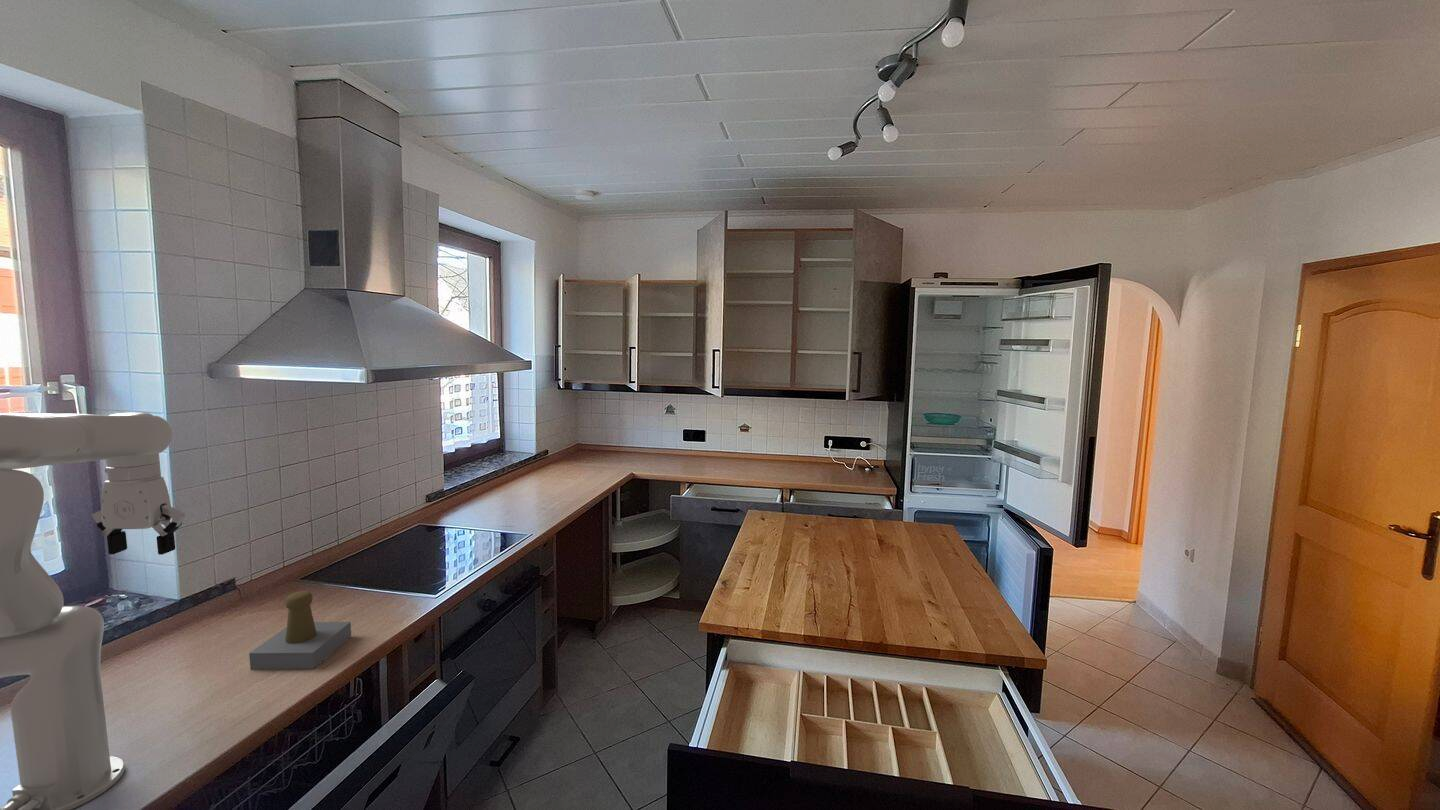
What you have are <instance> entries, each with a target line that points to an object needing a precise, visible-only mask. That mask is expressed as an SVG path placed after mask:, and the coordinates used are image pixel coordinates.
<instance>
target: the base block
mask: <svg viewBox="0 0 1440 810" xmlns="http://www.w3.org/2000/svg"><path fill="white" fill-rule="evenodd" d="M314 624H315V628H316V633H317V634H316V636H315V637H313V638H312V639H310V640H308V641H305V642H301V643H296V644H289V643H286V641H285V639H286V630H287V626H286V627H284V628H283V629H281V630H280V631H279V632H277V633H276V634H274V635H273V636H271V637H270V638H268V639H267V640H266V641H264V642H262V644H260V645H259V646H257V647H256V648H255V649H253V650H252V651H250V652H249V653H248V654H249V655H248V656H249V657H248V658H249V665H250V668H249V669H250V671H251V670H252V671H253V670H254V671H256V670H257V671H258V670H260V671H261V670H263V671H264V670H314V668H315V667H316V666H317V665H318V664H319V663H320V662H322V661H323V660H324V659H325V658H326V657H327V658H328V657H330V656H331V655H332V654H333V653H334V652H335V651H337V650H338V649H339V648H340V647H341V646H342V645H344V644H345V643H346V642H347V641H348V640H349V639H350V638H351V637H352V626H351V625H352V622H351V621H314ZM350 636H351V637H350ZM349 637H350V638H349ZM348 638H349V639H348ZM347 639H348V640H347ZM346 640H347V641H346ZM345 641H346V642H345ZM344 642H345V643H344ZM339 646H340V647H339ZM338 647H339V648H338ZM337 648H338V649H337ZM333 651H334V652H333ZM332 652H333V653H332ZM331 653H332V654H331ZM330 654H331V655H330ZM329 655H330V656H329ZM327 658H326V659H327ZM326 659H325V660H326ZM325 660H324V661H325ZM324 661H323V662H324ZM323 662H322V663H323ZM320 664H321V663H320ZM320 664H319V665H320ZM319 665H318V666H319ZM318 666H317V667H318ZM317 667H316V668H317ZM316 668H315V669H316Z"/></svg>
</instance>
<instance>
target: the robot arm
mask: <svg viewBox="0 0 1440 810" xmlns="http://www.w3.org/2000/svg"><path fill="white" fill-rule="evenodd" d="M171 427H172V426H171V425H170V423H169V422H168V421H167V420H166V419H164V418H163V417H161V416H158V415H153V414H151V413H148V412H134V411H133V412H122V413H121V412H119V413H113V414H109V415H107V414H91V413H90V414H89V413H88V414H86V413H38V412H37V413H34V412H33V413H31V412H29V413H28V412H21V413H19V412H5V413H1V412H0V679H2V678H7V677H15V676H23V675H24V676H25V675H26V676H27V675H28V676H30V679H29V680H28V682H27V683H26V684H24V685H23V687H21V689H20V690H19V691H18V692H17V693H16V694H15V696H13V699H12V702H11V704H10V717H11V723H12V731H13V739H14V746H15V754H16V763H17V768H18V776H19V783H20V784H18V785H17V786H16V787H14V788H13V789H11V793H12V797H10V798H9V799H8V800H7V802H6V804H4V805H3V806H2V807H0V810H73V809H76V808H77V807H80V806H82V805H85V804H86V803H88V802H90V801H92V800H93V799H95V798H97V797H98V796H100V795H101V794H103V793H105V792H106V791H107V790H109V789H110V788H111V787H112V786H114V785H115V784H116V783H117V782H118V781H119V780H120V778H122V776H123V774H124V772H125V769H126V768H125V767H126V766H125V761H124V760H123V759H122V758H121V757H118V756H113V755H110V746H109V739H108V730H107V728H108V727H107V722H106V721H107V720H106V719H107V718H106V711H105V710H106V709H105V702H104V693H103V692H104V691H103V686H102V685H103V684H102V675H101V672H102V671H101V656H102V655H101V654H102V652H101V651H102V644H103V637H104V630H105V621H104V617H103V615H102V613H101V612H100V611H98V610H97V609H95V608H93V607H90V606H86V605H85V606H83V605H65V603H64V602H65V601H64V595H63V592H62V590H61V588H60V587H59V585H58V584H57V582H55V580H54V579H53V578H52V576H50V575H49V573H48V572H47V571H46V569H44V567H43V566H42V565H41V564H40V562H39V561H38V560H37V559H36V558H35V556H34V555H33V554H32V549H31V548H32V543H33V540H34V536H35V534H36V530H37V526H38V523H39V521H40V518H41V514H42V509H43V505H44V497H45V494H44V493H45V492H44V488H43V487H44V486H43V485H42V483H41V481H40V480H39V479H38V478H37V477H36V476H34V475H33V474H31V473H30V472H26V471H24V470H20V469H30V468H31V469H32V468H38V467H39V468H40V467H45V466H55V465H56V466H57V465H67V464H75V463H89V462H95V461H96V462H97V461H102V460H103V461H104V460H105V462H106V467H105V468H104V472H105V473H106V474H107V480H105V481H104V482H103V486H102V491H101V501H100V502H101V503H100V505H101V507H100V510H98V511H96V512H94V513H92V515H91V516H92V519H93V520H94V522H95V523H97V524H96V526H97V528H98V529H100V530H101V531H102V535H103V536H104V537H106V543H107V551H108V555H115V554H117V553H121V552H124V551H125V550H128V541H127V533H126V530H146V529H147V530H148V529H151V528H152V529H153V530H154V531H155V533H157V534H158V535H157V536H156V546H157V547H156V548H157V554H158V555H165V554H167V553H169V552H172V551H175V550H176V541H175V539H176V538H175V533H176V532H177V531H178V529H179V528H180V527H181V526H182V524H183V523H182V522H183V521H184V519H185V516H186V513H185V512H183V511H181V510H178V509H176V508H175V507H173V506H172V504H171V498H170V494H169V490H168V486H167V483H166V481H165V479H164V477H163V476H162V471H161V470H162V469H161V462H160V454H161V453H162V452H164V451H165V450H167V448H169V446H170V445H171V442H172V439H173V430H172V428H171Z"/></svg>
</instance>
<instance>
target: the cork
mask: <svg viewBox="0 0 1440 810" xmlns="http://www.w3.org/2000/svg"><path fill="white" fill-rule="evenodd" d="M313 598H314V597H313V594H312V593H311V591H308V590H301V591H296V592H293V593H291V594H289V595H288V596H287V597H286V598H285V602H284V603H285V604H284V605H285V608H287V610H288V612H287V622H286V627H287V630H286V639H285V641H286V643H289V644H296V643H301V642H305V641H308V640H310V639H312V638H313V637H315V636H316V634H317V633H316V628H315V624H314V622H315V620H314V616H313V612H312V608H311V605H312V602H313Z"/></svg>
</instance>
